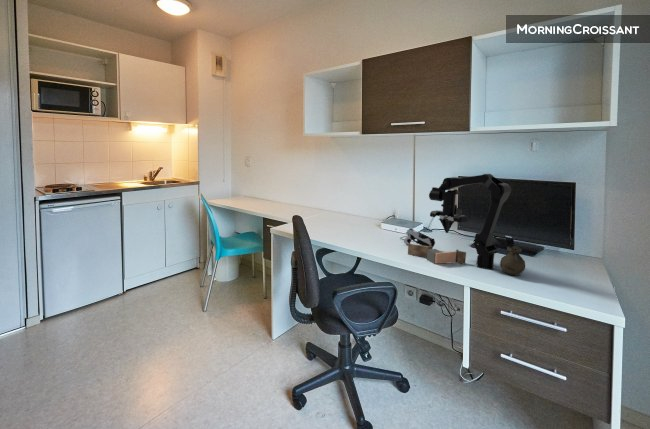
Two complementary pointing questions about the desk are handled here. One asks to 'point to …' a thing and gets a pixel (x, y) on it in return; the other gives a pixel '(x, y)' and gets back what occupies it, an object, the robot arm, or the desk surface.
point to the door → (445, 257)
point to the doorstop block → (432, 255)
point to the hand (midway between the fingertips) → (446, 232)
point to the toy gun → (418, 238)
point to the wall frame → (422, 250)
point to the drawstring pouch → (513, 261)
